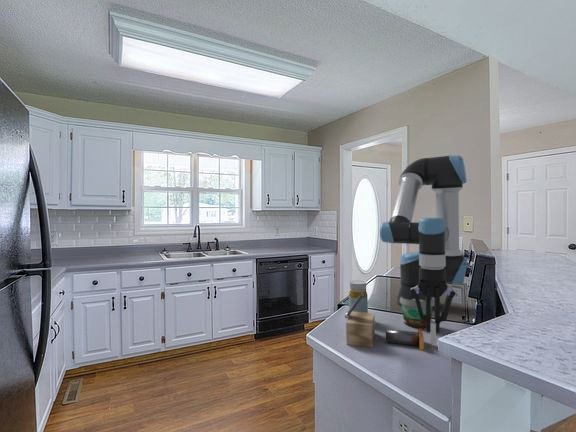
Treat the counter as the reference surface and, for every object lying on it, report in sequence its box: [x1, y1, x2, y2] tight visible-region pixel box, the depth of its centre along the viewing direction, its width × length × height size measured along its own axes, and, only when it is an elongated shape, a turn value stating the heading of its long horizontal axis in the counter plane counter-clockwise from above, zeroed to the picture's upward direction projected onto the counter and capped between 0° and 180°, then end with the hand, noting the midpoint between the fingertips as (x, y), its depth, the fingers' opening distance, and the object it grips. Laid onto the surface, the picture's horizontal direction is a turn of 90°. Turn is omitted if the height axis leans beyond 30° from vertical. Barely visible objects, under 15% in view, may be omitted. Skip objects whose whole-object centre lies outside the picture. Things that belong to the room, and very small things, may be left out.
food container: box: [400, 297, 435, 330], centre depth 116 cm, size 12×6×10 cm, turn 70°
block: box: [345, 311, 376, 348], centre depth 106 cm, size 8×12×7 cm, turn 161°
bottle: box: [348, 280, 369, 313], centre depth 123 cm, size 7×7×15 cm
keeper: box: [344, 292, 364, 319], centre depth 107 cm, size 10×5×1 cm
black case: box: [385, 328, 425, 351], centre depth 102 cm, size 11×7×4 cm, turn 71°
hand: (432, 342), depth 99 cm, fingers closed
